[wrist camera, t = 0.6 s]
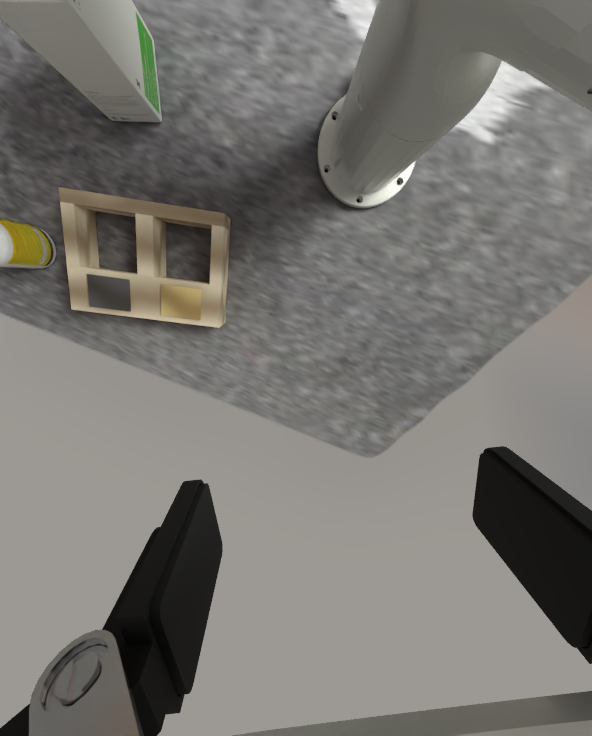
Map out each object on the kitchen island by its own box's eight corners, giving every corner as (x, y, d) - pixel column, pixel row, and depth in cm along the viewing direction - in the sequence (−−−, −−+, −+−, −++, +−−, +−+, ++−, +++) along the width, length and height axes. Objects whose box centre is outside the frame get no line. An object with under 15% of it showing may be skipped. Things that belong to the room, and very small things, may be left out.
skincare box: (163, 125, 34) (71, 9, 19) (107, 122, 34) (-30, 2, 19) (154, 34, 32) (39, -180, 17) (93, 31, 31) (-78, -190, 16)
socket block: (82, 196, 36) (56, 186, 32) (230, 219, 38) (224, 212, 34) (91, 306, 40) (69, 309, 36) (225, 323, 42) (218, 328, 38)
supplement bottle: (43, 219, 37) (-38, 200, 27) (65, 262, 38) (-4, 257, 29) (6, 232, 37) (-88, 217, 28) (29, 273, 39) (-51, 272, 29)
